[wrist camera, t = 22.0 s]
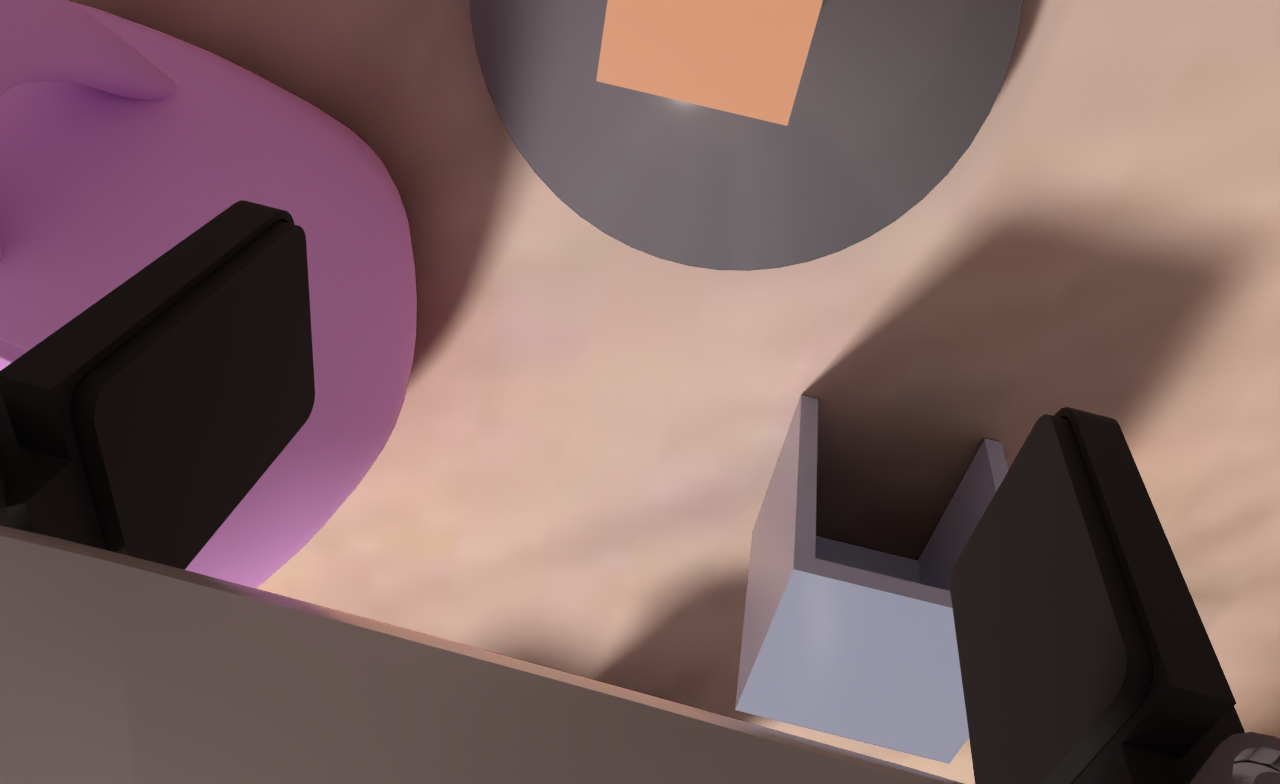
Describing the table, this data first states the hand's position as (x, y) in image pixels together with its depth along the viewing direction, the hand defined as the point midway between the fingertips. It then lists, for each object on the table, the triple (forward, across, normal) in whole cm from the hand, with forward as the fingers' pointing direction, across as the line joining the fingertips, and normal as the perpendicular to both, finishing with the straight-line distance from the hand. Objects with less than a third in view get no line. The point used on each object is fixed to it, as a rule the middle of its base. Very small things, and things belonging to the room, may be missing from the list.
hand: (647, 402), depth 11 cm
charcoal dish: (+16, +1, -1) cm, 16 cm away
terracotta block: (+15, +1, -3) cm, 15 cm away
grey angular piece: (+17, -8, +14) cm, 23 cm away
